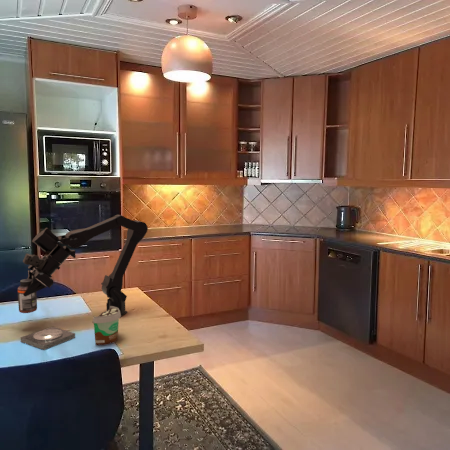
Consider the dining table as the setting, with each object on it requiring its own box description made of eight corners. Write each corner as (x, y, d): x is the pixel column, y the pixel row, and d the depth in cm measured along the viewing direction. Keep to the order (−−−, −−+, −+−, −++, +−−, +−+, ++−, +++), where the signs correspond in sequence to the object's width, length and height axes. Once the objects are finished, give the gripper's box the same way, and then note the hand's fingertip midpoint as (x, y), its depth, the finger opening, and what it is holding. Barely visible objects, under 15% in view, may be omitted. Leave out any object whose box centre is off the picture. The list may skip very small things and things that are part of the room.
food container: (110, 348, 131) (110, 318, 130) (93, 346, 132) (92, 316, 131) (127, 334, 143) (127, 306, 142) (111, 332, 144) (110, 305, 143)
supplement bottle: (22, 308, 148) (20, 278, 147) (39, 308, 149) (38, 277, 148) (16, 314, 142) (14, 282, 141) (33, 313, 143) (32, 281, 142)
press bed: (52, 330, 145) (52, 325, 145) (75, 337, 139) (75, 332, 139) (20, 341, 135) (20, 336, 135) (43, 350, 129) (43, 344, 129)
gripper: (33, 241, 153) (1, 274, 148) (41, 249, 137) (6, 286, 132) (56, 260, 158) (26, 292, 153) (67, 269, 142) (34, 305, 138)
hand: (22, 293), depth 144 cm, fingers closed on supplement bottle, 6 cm apart
